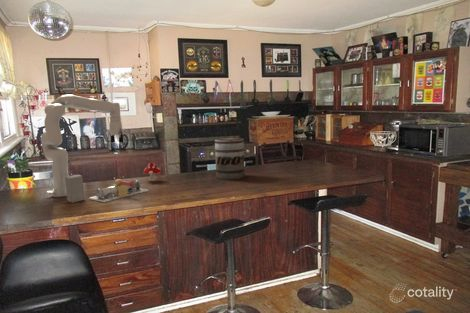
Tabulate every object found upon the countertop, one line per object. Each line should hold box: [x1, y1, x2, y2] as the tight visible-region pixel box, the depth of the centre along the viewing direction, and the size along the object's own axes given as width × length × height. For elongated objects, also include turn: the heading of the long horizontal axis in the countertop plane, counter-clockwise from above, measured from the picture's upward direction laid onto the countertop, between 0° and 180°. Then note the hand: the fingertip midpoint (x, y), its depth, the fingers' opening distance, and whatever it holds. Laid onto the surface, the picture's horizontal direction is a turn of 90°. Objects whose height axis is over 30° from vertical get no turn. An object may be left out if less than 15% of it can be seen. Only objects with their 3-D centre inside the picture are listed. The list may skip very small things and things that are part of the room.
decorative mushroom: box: [142, 161, 162, 182], centre depth 274 cm, size 14×14×15 cm
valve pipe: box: [88, 180, 149, 203], centre depth 234 cm, size 34×16×7 cm, turn 143°
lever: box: [114, 178, 135, 187], centre depth 230 cm, size 17×4×3 cm, turn 53°
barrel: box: [214, 137, 246, 181], centre depth 282 cm, size 22×22×30 cm
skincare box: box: [65, 174, 85, 204], centre depth 221 cm, size 8×7×16 cm
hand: (117, 142), depth 270 cm, fingers open, 9 cm apart
